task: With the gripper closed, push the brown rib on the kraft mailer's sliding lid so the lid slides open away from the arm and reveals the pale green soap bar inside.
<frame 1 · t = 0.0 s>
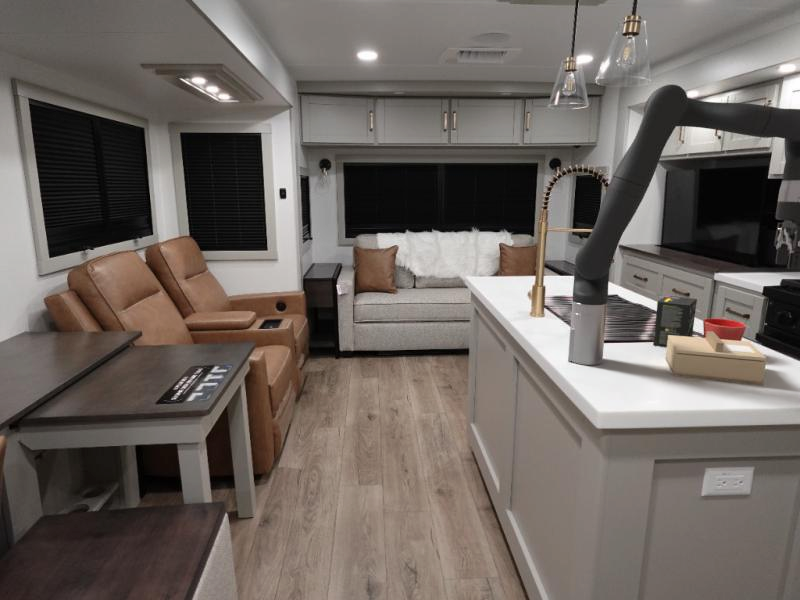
hand: (786, 266, 127), 29 cm above the countertop, fingers open, 8 cm apart
tampon box: (672, 345, 163), on the countertop
mailer: (710, 370, 139), on the countertop
lid: (714, 342, 137), point 8 cm above the countertop, slide at 0.0 cm
flower pot: (719, 354, 153), on the countertop
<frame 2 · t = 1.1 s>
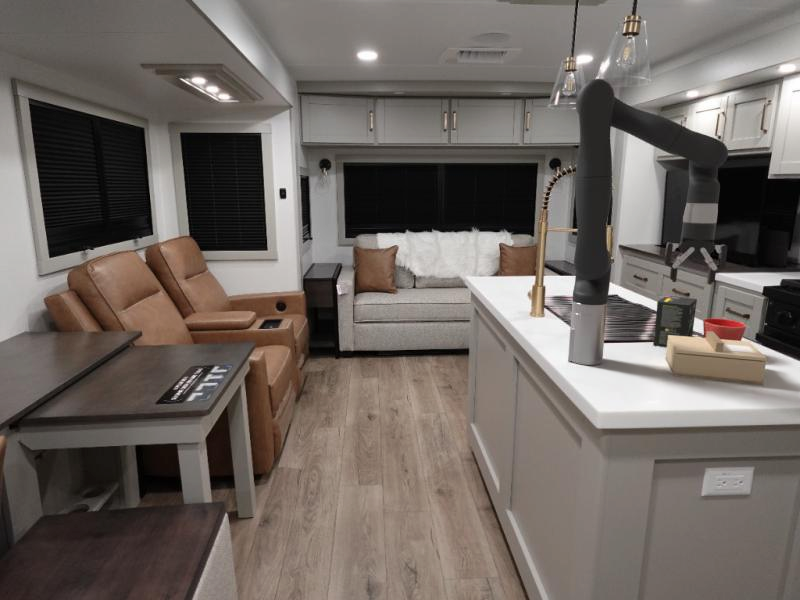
hand: (691, 282, 136), 24 cm above the countertop, fingers open, 8 cm apart
nothing on the countertop moved.
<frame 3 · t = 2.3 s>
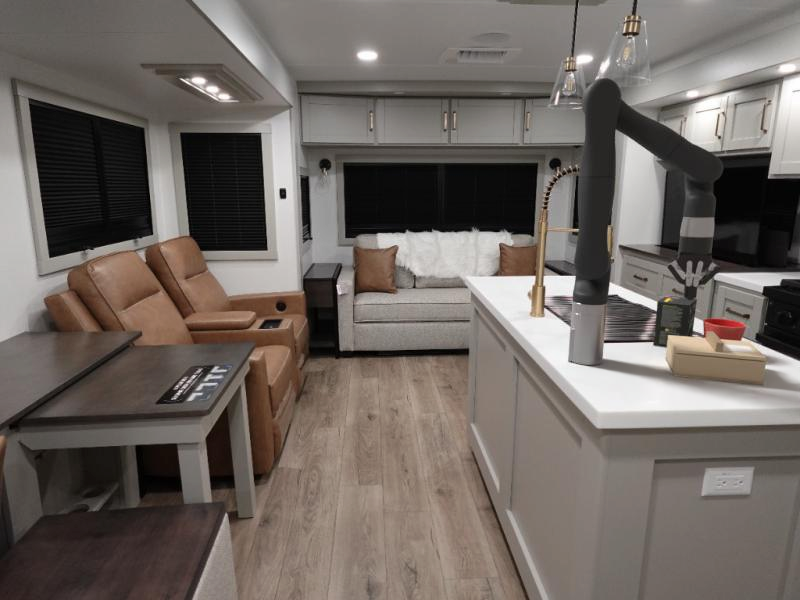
hand: (689, 299, 137), 19 cm above the countertop, fingers closed
nothing on the countertop moved.
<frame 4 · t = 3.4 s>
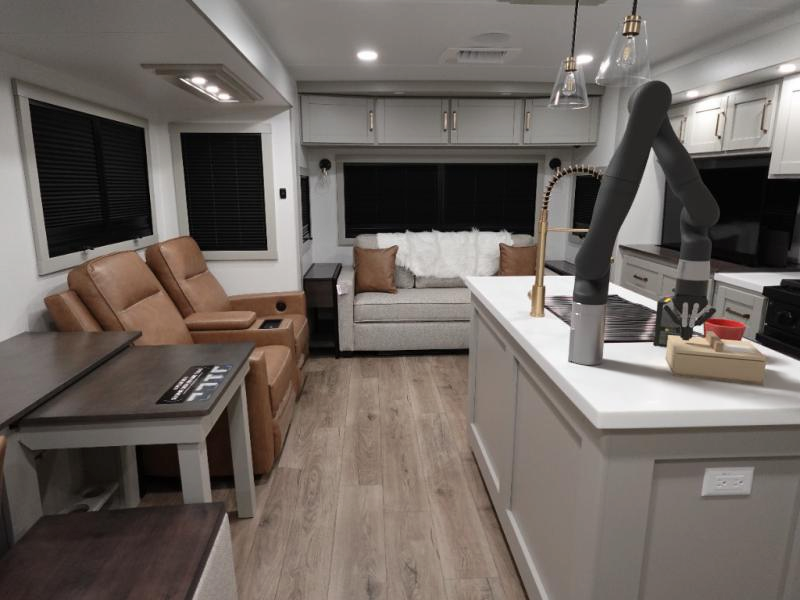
hand: (685, 339, 139), 8 cm above the countertop, fingers closed
nothing on the countertop moved.
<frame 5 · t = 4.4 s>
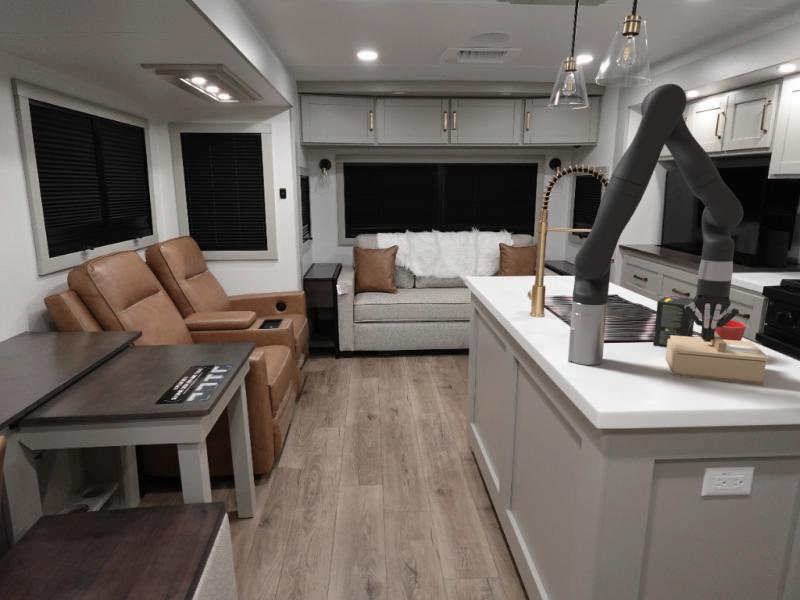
hand: (707, 341, 138), 8 cm above the countertop, fingers closed
lid: (716, 342, 137), point 8 cm above the countertop, slide at 0.6 cm, touching gripper
everything else where it was.
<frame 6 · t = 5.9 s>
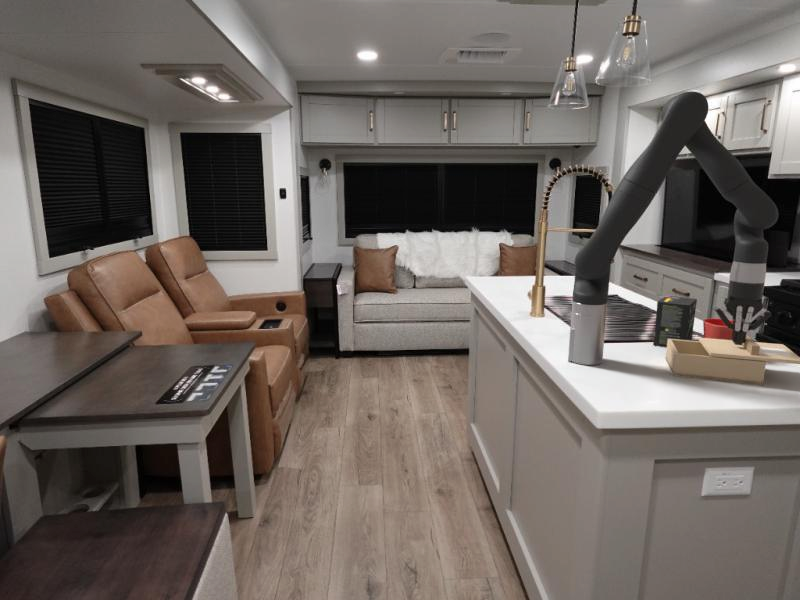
hand: (737, 344, 135), 8 cm above the countertop, fingers closed
lid: (748, 345, 134), point 8 cm above the countertop, slide at 7.9 cm, touching gripper
everything else where it was.
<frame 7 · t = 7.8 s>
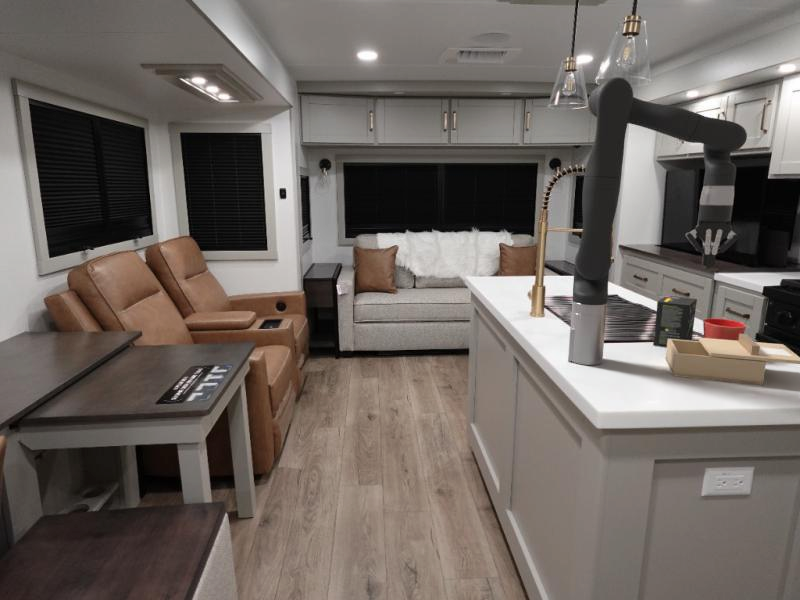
hand: (707, 268, 139), 27 cm above the countertop, fingers closed
lid: (748, 345, 134), point 8 cm above the countertop, slide at 7.9 cm
everything else where it was.
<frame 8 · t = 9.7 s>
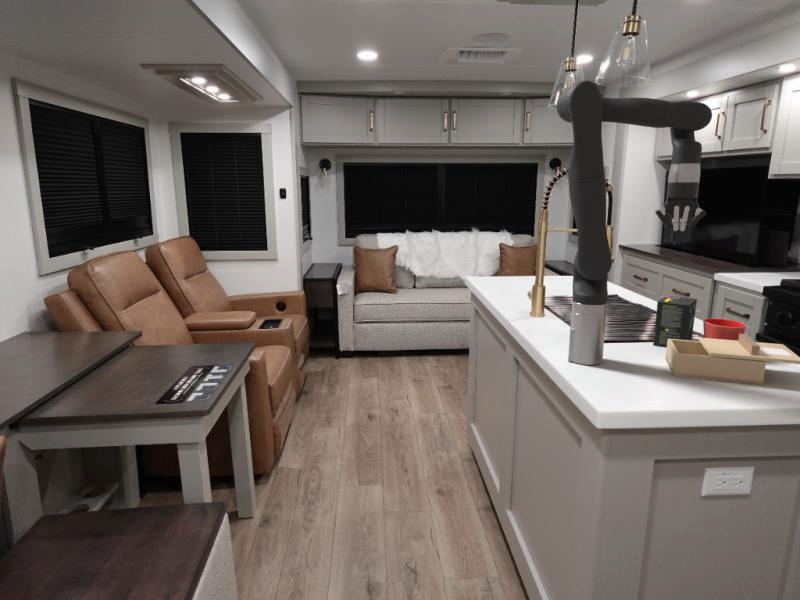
hand: (676, 244, 144), 33 cm above the countertop, fingers closed
nothing on the countertop moved.
at the end: lid slide at 7.9 cm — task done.
